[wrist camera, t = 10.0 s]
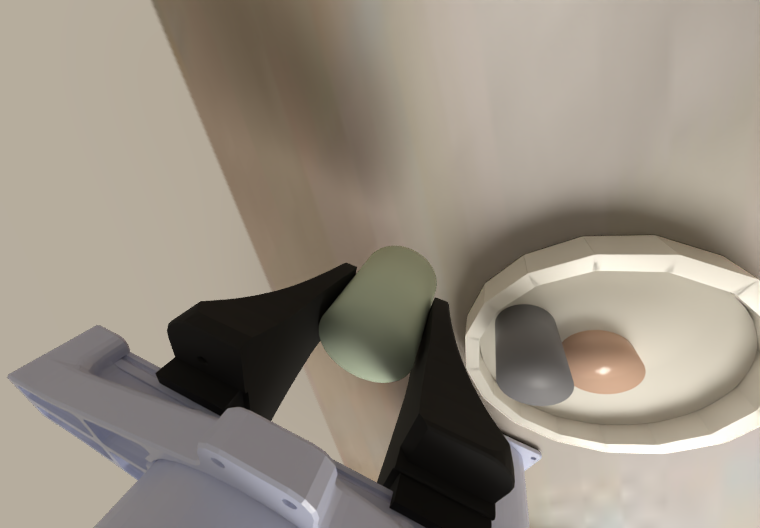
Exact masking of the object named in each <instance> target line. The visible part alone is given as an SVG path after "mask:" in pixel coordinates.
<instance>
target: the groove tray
mask: <svg viewBox="0 0 760 528" xmlns="http://www.w3.org/2000/svg"><path fill="white" fill-rule="evenodd" d="M518 304H530V305H535V306H538V307H541V308H543V309H545V310H546V311H548V312H549V313H550V314H551V315H552V316H553V318H554V319H555V322H556V325H557V328H558V332H559V335H560V338H561V342H562V345H563V348H564V352H565V355H566V358H567V362H568V365H569V368H570V372H571V375H572V378H573V381H574V390H573V393H572V394H571V396H570V397H569V398H568V399H566V400H565V401H563V402H561V403H558V404H555V405H550V406H533V405H528V404H524V403H521V402H518V401H516V400H514V399H512V398H510V397H508V396H507V395H506V394H504V393H503V392H502V391H501V389H500V388H499V386H498V384H497V382H496V356H495V320H496V317H497V316H498V314H499V313H500V312H501V311H502V310H504V309H506V308H507V307H510V306H513V305H518ZM465 350H466V370H467V371H468V373H469V375H470V376H471V378H472V380H473V382H474V383H475V385H476V387H477V388H478V390H479V392H480V394H481V395H482V397H483V398H484V399H485V400H486V401H488V402H489V403H490V404H491V405H492V406H494V407H495V408H496V409H497V410H499V411H500V412H501V413H502V414H504V415H505V416H506V417H507V418H509V419H510V420H511V421H512V422H514V423H516V424H518V425H520V426H522V427H525V428H527V429H529V430H531V431H534V432H536V433H538V434H540V435H542V436H545V437H547V438H549V439H551V440H554V441H557V442H561V443H566V444H571V445H575V446H580V447H584V448H589V449H593V450H598V451H602V452H612V453H648V454H667V453H673V452H678V451H684V450H689V449H695V448H700V447H706V446H712V445H717V444H723V443H727V442H729V441H731V440H733V439H735V438H737V437H739V436H741V435H743V434H745V433H747V432H749V431H752V430H754V429H756V428H758V427H760V280H759V279H757V278H756V277H754V276H753V275H751V274H750V273H748V272H747V271H745V270H744V269H742V268H741V267H739V266H737V265H736V264H734V263H733V262H731V261H730V260H728V259H727V258H725V257H724V256H721V255H718V254H715V253H711V252H708V251H705V250H702V249H698V248H695V247H692V246H689V245H685V244H682V243H679V242H676V241H672V240H669V239H666V238H663V237H659V236H656V235H633V236H582V237H579V238H576V239H573V240H569V241H566V242H563V243H560V244H557V245H554V246H550V247H547V248H544V249H541V250H538V251H535V252H531V253H528V254H525V255H523V256H522V257H520V258H519V259H517V260H516V261H515V262H513V263H512V264H511V265H509V266H508V267H507V268H505V269H504V270H503V271H501V272H500V273H499V274H497V275H496V276H495V277H493V278H492V279H490V280H489V281H488V282H486V283H485V284H484V286H483V288H482V290H481V292H480V294H479V295H478V297H477V299H476V301H475V303H474V304H473V306H472V308H471V310H470V312H469V313H468V315H467V324H466V333H465Z"/></svg>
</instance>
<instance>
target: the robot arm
mask: <svg viewBox="0 0 760 528" xmlns="http://www.w3.org/2000/svg"><path fill="white" fill-rule="evenodd" d="M356 270H357V267H356V266H353V265H350V264H348V263H344V264H342V265H340V266H338V267H336V268H334V269H332V270H330V271H328V272H326V273H323V274H321V275H319V276H317V277H315V278H312V279H310V280H307V281H305V282H302V283H300V284H297V285H294V286H291V287H288V288H285V289H281V290H278V291H274V292H269V293H265V294H261V295H255V296H250V297H243V298H236V299H228V300H214V301H201V302H199V303H198V304H196V305H194V306H193V307H192V308H190V309H189V310H187V311H186V312H184V313H183V314H181V315H180V316H178V317H177V318H175V319H174V320H172V321H171V322H170V323H169V324H168V329H167V332H168V337H169V340H170V343H171V346H172V349H173V352H174V355H175V358H174V359H173V360H171V361H170V362H169V363H167V364H166V365H165V366H164V367H162V368H159V367H157V366H156V365H154V364H152V363H150V362H148V361H146V360H144V359H143V358H141V357H139V356H137V355H135V354H133V353H131V352H130V349H129V346H128V344H127V342H126V341H125V340H124V339H123V338H122V337H121V336H119V335H118V334H116V333H114V332H112V331H110V330H108V329H106V328H104V327H102V326H100V325H96V326H94V327H93V328H91V329H89V330H87V331H85V332H84V333H82V334H80V335H78V336H77V337H75V338H73V339H71V340H70V341H68V342H66V343H64V344H62V345H60V346H59V347H57V348H55V349H53V350H51V351H50V352H48V353H46V354H44V355H42V356H41V357H39V358H37V359H35V360H33V361H32V362H30V363H28V364H26V365H24V366H23V367H21V368H19V369H17V370H16V371H14V372H12V373H10V374H9V375H8V379H9V380H10V381H11V382H12V383H13V384H14V385H15V386H16V387H17V388H18V389H19V390H20V392H21V393H23V395H24V396H26V398H27V399H28V400H29V401H30V402H31V403H32V404H33V405H34V406H35V407H36V408H37V409H38V410H39V411H40V412H41V413H42V414H43V415H44V416H45V417H46V418H48V419H49V420H51V421H52V422H54V423H56V424H57V425H59V426H60V427H62V428H63V429H65V430H66V431H68V432H69V433H71V434H72V435H74V436H75V437H77V438H78V439H80V440H81V441H83V442H84V443H86V444H87V445H89V446H90V447H91V448H93V449H94V450H96V451H97V452H98V453H100V454H101V455H103V456H104V457H106V458H107V459H109V460H110V461H111V462H113V463H114V464H116V465H117V466H118V467H120V468H121V469H122V470H124V471H125V472H127V473H128V474H130V475H131V476H132V477H134V478H135V479H137V480H138V481H137V482H136V483H135V484H134V485H133V486H132V487H131V488H130V490H128V492H127V493H126V494H125V495H124V496H123V497H122V498H121V499H120V500H119V501H118V502H117V503H116V504H115V505H114V506H113V508H112V509H111V510H110V511H109V512H108V513H107V514H106V515H105V516H104V517H103V518H102V519H101V520H100V521H99V522H98V523H97V525H96V526H95V527H94V528H530V527H529V516H528V505H527V494H526V484H525V473H524V471H525V470H527V469H528V468H529V467H531V466H532V465H533V464H535V463H536V462H537V461H538V460H540V459H541V458H542V455H541V452H540V451H538V450H536V449H534V448H532V447H529V446H527V445H525V444H523V443H521V442H518V441H516V440H514V439H512V438H510V437H508V436H505V435H503V434H502V432H501V431H500V429H499V428H498V427H497V425H496V424H495V422H494V421H493V419H492V418H491V416H490V415H489V413H488V411H487V410H486V408H485V407H484V405H483V403H482V401H481V400H480V398H479V396H478V394H477V392H476V390H475V388H474V387H473V385H472V383H471V380H470V378H469V376H468V374H467V372H466V369H465V367H464V364H463V362H462V359H461V356H460V353H459V350H458V347H457V344H456V340H455V337H454V333H453V329H452V324H451V318H450V312H449V304H448V302H446V301H443V300H441V299H438V298H435V299H434V301H433V303H432V306H431V308H430V311H429V314H428V318H427V321H426V325H425V328H424V331H423V335H422V338H421V341H420V345H419V348H418V352H417V355H416V358H415V362H414V365H413V368H412V369H411V372H410V377H409V382H408V387H407V390H406V394H405V398H404V401H403V404H402V407H401V410H400V414H399V417H398V420H397V423H396V426H395V429H394V432H393V435H392V438H391V442H390V445H389V448H388V451H387V454H386V457H385V460H384V463H383V466H382V469H381V472H380V475H379V478H378V481H377V483H376V482H374V481H373V480H371V479H369V478H367V477H365V476H363V475H361V474H359V473H357V472H356V471H354V470H352V469H350V468H348V467H346V466H344V465H342V464H341V463H339V462H336V461H335V460H333V459H331V458H330V456H329V455H328V454H327V453H326V452H325V451H323V450H322V449H320V448H319V447H317V446H316V445H315V444H313V443H311V442H309V441H307V440H305V439H304V438H302V437H300V436H298V435H296V434H294V433H292V432H290V431H288V430H287V429H284V428H283V427H281V426H279V425H277V424H275V423H273V422H271V420H272V418H273V416H274V414H275V413H276V411H277V409H278V407H279V406H280V404H281V402H282V400H283V399H284V397H285V395H286V394H287V392H288V390H289V388H290V387H291V385H292V383H293V382H294V380H295V378H296V377H297V375H298V373H299V372H300V370H301V369H302V367H303V365H304V364H305V362H306V361H307V359H308V357H309V356H310V354H311V353H312V351H313V350H314V348H315V347H316V346H317V344H318V343H319V342H320V341H321V340H320V336H319V323H320V320H321V318H322V316H323V315H324V314H325V312H326V311H327V310H328V309H329V307H330V306H331V305H332V304H333V302H334V301H335V300H336V299H337V297H338V296H339V295H340V294H341V292H342V291H343V290H344V289H345V287H346V286H347V285H348V284H349V282H350V281H351V280H352V279H353V277H354V276H355V275H356Z"/></svg>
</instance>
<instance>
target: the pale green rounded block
mask: <svg viewBox="0 0 760 528" xmlns="http://www.w3.org/2000/svg"><path fill="white" fill-rule="evenodd" d="M436 286H437V280H436V275H435V272H434V270H433V268H432V266H431V265H430V263H429V262H428V261H427V260H426V259H425V258H424V257H423V256H422V255H420V254H419V253H417V252H416V251H414V250H412V249H409V248H406V247H402V246H387V247H384V248H381V249H379V250H377V251H376V252H374V253H373V254H372V255H371V256H370V257H369V259H368V260H367V261H366V262H365V264H364V265H363V266H362V267H361V269H360V270H359V271H358V272H357V274H356V275H355V276H354V277H353V279H352V280H351V281H350V282H349V284H348V285H347V286H346V287H345V289H344V290H343V291H342V292H341V294H340V295H339V296H338V297H337V299H336V300H335V301H334V302H333V304H332V305H331V306H330V307H329V309H328V310H327V311H326V312H325V314H324V315H323V316H322V318H321V320H320V323H319V336H320V340H321V343H322V345H323V347H324V349H325V350H326V352H327V353H328V355H329V356H330V357H331V358H332V359H333V360H334V361H335V362H336V363H337V364H338V365H339V366H340V367H342V368H343V369H345V370H346V371H348V372H349V373H351V374H353V375H355V376H357V377H359V378H362V379H365V380H368V381H372V382H379V383H388V382H394V381H398V380H400V379H402V378H404V377H405V376H407V375H408V374H409V372H410V371H411V369H412V368H413V365H414V362H415V358H416V355H417V352H418V348H419V345H420V341H421V338H422V335H423V331H424V328H425V325H426V321H427V318H428V314H429V311H430V308H431V304H432V301H433V298H434V294H435V291H436Z"/></svg>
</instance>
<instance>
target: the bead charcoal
mask: <svg viewBox="0 0 760 528" xmlns="http://www.w3.org/2000/svg"><path fill="white" fill-rule="evenodd" d="M495 356H496V382H497V384H498V386H499V388H500V389H501V391H502V392H503V393H504V394H506V395H507V396H508V397H510V398H512V399H514V400H516V401H518V402H521V403H524V404H528V405H533V406H550V405H555V404H558V403H561V402H563V401H565V400H566V399H568V398H569V397H570V396H571V394H572V393H573V390H574V381H573V378H572V375H571V372H570V368H569V365H568V362H567V358H566V355H565V352H564V348H563V345H562V342H561V338H560V335H559V332H558V328H557V325H556V322H555V319H554V318H553V316H552V315H551V314H550V313H549V312H548V311H546V310H545V309H543V308H541V307H538V306H535V305H530V304H518V305H513V306H510V307H507V308H506V309H504V310H502V311H501V312H500V313H499V314H498V316H497V317H496V320H495Z"/></svg>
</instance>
